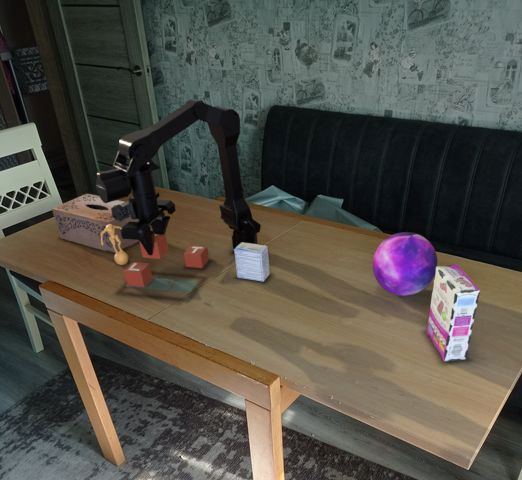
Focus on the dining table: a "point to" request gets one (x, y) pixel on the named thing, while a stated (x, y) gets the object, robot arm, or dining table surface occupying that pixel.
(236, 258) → the medicine box
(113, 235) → the figurine
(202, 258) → the letter T
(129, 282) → the letter L
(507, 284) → the dining table surface
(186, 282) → the word mat
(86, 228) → the tissue box cover
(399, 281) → the decorative orb
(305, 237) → the dining table surface
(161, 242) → the red box-shaped block
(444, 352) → the candy bar box
